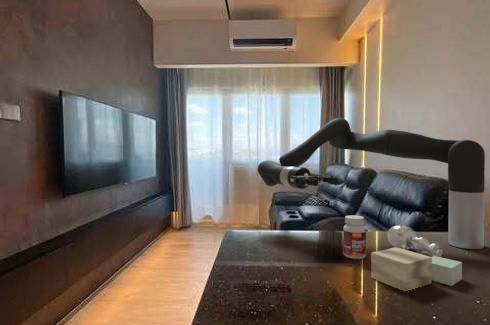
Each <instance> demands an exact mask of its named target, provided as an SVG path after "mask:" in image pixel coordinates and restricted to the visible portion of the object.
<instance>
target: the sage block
mask: <svg viewBox="0 0 490 325" xmlns="http://www.w3.org/2000/svg"><path fill="white" fill-rule="evenodd" d="M462 279H463V262H462V261H458V260H454V259H450V258H445V257H442V256H441V257H437V256H433V257H432V281H433V282H435V283H440V284H444V285H447V286H451V287H453V286H454V285H455V284H457V283H459V282H460V281H462Z"/></svg>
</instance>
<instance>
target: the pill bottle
mask: <svg viewBox="0 0 490 325" xmlns="http://www.w3.org/2000/svg"><path fill="white" fill-rule="evenodd" d="M344 223H345V225H344V226H343V227H342V228H343V229H342V231H343V232H342V234H343V236H342V238H343V241H342V242H343V244H342V245H343V246H342V247H343V249H342V250H343V251H342V253H343V255H344V256H345V257H346V258H348V259H353V260H361V259H364V258H366V255H367V241H366V240H367V228H366V227H365V226H364V224H365V217H364V216H361V215H354V214H352V215H351V214H350V215H345V217H344Z"/></svg>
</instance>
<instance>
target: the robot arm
mask: <svg viewBox="0 0 490 325" xmlns="http://www.w3.org/2000/svg"><path fill="white" fill-rule="evenodd" d="M328 142H329V144H330V146H332V147H333V148H336V149H340V150H350V151H351V150H352V151H362V152H367V153H368V152H369V153H375V154H379V155H385V156H390V157H395V158H401V159H402V158H403V159H412V160H429V161H436V162H441V163H445V164H447V180H448V227H447V228H448V232H447V233H448V234H447V236H448V238H447V239H448V241H447V242H448V244H449V245H451V246H453V247H456V248H461V249H469V250H482V249H483V248H485V247H484V246H485V180H486V179H485V178H486V177H485V172H486V171H485V170H486V168H485V165H486V164H485V163H486V162H485V160H486V156H485V155H486V154H485V152H486V151H485V150H484V148H483V146H482V145H481V144H480V143H478V142H477V141H475V140H472V139H463V140H454V139H453V140H452V139H441V138H439V139H438V138H436V137H435V138H434V137H430V136H427V135H423V134H418V133H413V132H409V131H404V130H396V129H384V130H380V131H376V132H372V133H368V134H367V133H359V132H354V131H352V130H351V126H350V124H349V121H348V120H347V119H346V118H343V117H337V118H333V119H332V120H330V121H328V122H327V123H325V124H324V125H323V126H321V128H320V129H319V130H317V131H316V132H315V133H313V134H312V135H311V136H309V138H307V139H306V140H305V141H303V142H302V143H301V144H299V145H298V146H297V147H294V148H293V149H290V150H289V151H288V152H286V153H285V154H283V155H281V156H280V157H279V159H278V160H279V163H278V162H276V161H274V160H263V161H261V162H260V163H259V164H258V166H257V172H258V174H259V176H260V177H261V179H262V181H263V182H264V184H265V185H266V186H267V187H275V186H277V185H281V186H286V187H289V188H293V189H298V190H304V189H307V188H309V186H312V187H318V186H323V185H325V184H326V185H335V186H336V185H339V178H338V177H334V175H328V174H327V175H326V174H321V173H317V174H316V173H313V172H310V170H309V169H308V168H307V167H301V166H302V165H304V164H305V163H306V162H307V161H308V160H309V159H311V157H312V156H313V155H314V153H315V152H316V151H317V150H318V149H319V148H320V147H322V146H323V145H324V144H326V143H328Z"/></svg>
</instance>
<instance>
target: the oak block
mask: <svg viewBox="0 0 490 325" xmlns="http://www.w3.org/2000/svg"><path fill="white" fill-rule="evenodd" d="M370 254H371V255H370V256H371V258H370V260H371V263H370V264H371V266H370V273H371V274H370V276H371V279H373V280H375V279H376V280H375V281H378V282H381V283H382V284H386V285H388V286H391V287H392V288H395V289H397V288H398V290H399V291H402V290H403V291H402V292H405V291H408V290H411V291H413V290H412V289H414V290H416V289H415V288H417V289H419V288H418V287H420V288H422V286H423V287H425V285H426V286H427V285H428V284H429V285H432V284H431V283H432V281H433V280H432V257H431V256H427V255H426V254H419V253H417V252H416V251H415V252H414V251H411V250H409V249H408V250H405V249H401V248H398V247H392V248H387V249H382V250H378V251H373V252H371V253H370ZM408 292H409V291H408Z"/></svg>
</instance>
